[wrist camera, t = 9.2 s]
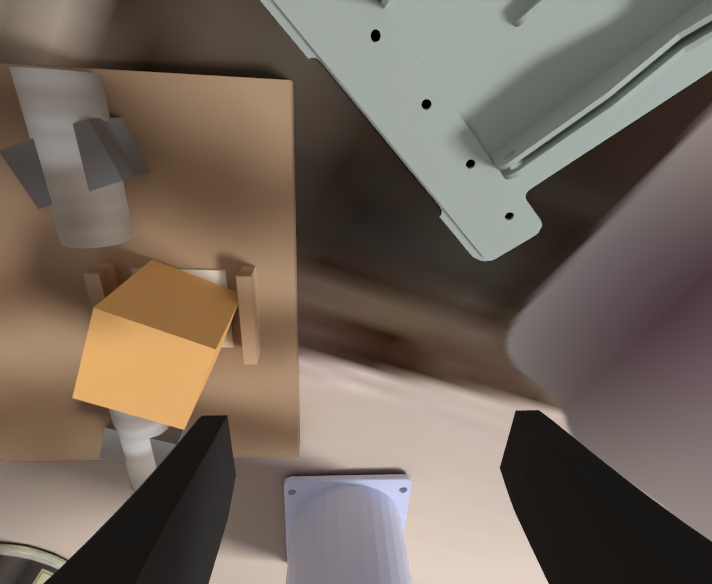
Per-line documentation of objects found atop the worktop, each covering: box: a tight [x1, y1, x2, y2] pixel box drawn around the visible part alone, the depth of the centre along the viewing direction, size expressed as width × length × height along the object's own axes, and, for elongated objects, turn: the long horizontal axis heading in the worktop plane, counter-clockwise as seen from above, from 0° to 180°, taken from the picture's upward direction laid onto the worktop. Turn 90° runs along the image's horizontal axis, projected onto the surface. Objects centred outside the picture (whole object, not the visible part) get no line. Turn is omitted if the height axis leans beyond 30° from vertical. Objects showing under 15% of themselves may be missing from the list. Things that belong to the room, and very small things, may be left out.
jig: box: [0, 63, 300, 491], centre depth 17 cm, size 19×18×3 cm
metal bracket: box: [260, 0, 712, 261], centre depth 14 cm, size 14×6×15 cm
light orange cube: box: [72, 259, 238, 430], centre depth 15 cm, size 4×4×4 cm
